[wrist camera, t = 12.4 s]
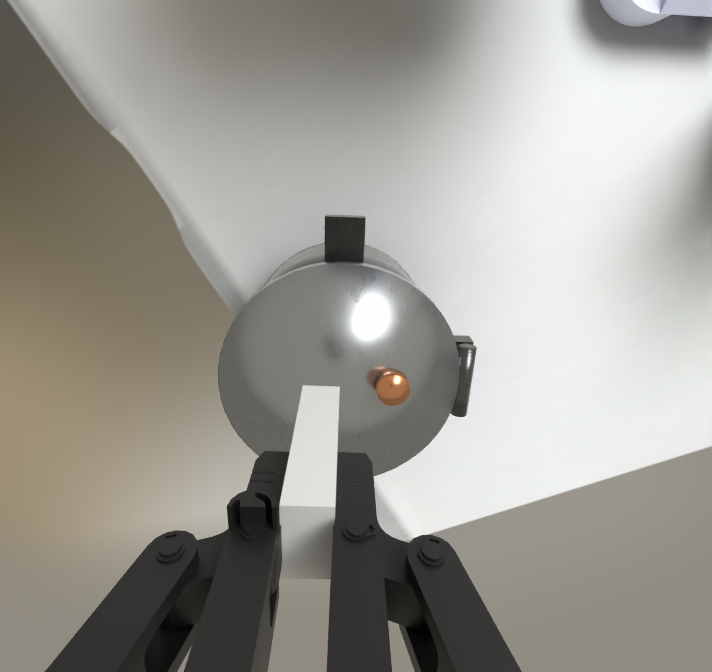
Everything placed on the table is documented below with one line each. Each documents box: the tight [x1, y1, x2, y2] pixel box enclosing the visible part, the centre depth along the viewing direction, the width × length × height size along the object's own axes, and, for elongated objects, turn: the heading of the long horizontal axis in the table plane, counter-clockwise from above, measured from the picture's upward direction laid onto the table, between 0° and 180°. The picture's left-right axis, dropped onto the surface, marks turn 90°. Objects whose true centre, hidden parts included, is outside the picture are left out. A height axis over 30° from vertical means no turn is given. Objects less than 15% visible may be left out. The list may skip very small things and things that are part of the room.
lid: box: [218, 261, 477, 476], centre depth 34 cm, size 19×20×2 cm
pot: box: [266, 215, 473, 351], centre depth 41 cm, size 25×20×12 cm
